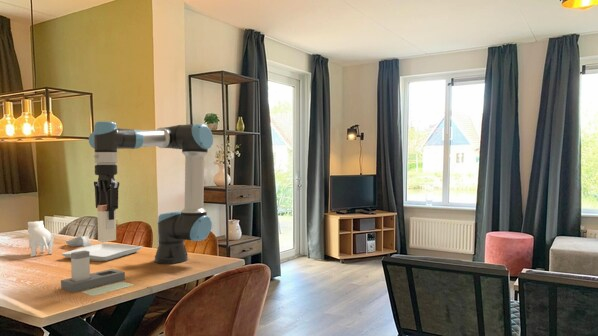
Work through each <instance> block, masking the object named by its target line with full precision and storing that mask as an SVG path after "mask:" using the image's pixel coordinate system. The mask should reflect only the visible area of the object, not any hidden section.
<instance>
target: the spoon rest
mask: <svg viewBox="0 0 598 336" xmlns="http://www.w3.org/2000/svg"><path fill="white" fill-rule="evenodd" d="M65 242H66V244H67V245H68V246H70V247H72V248H76V247H77V248H80V247H82V248H83V247H88V246H92V245H93V244H92V243H91V240H90V238H89V236H88V235H83V236H77V237H74V238H71V239H66V240H65Z"/></svg>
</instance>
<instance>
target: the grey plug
mask: <svg viewBox="0 0 598 336" xmlns="http://www.w3.org/2000/svg"><path fill="white" fill-rule="evenodd" d="M90 261H91V260H89V251H85V250H84V251H79V252H73V253H71V258H70V262H71V263H70V266H71V267H70V268H71V270H70V272H71V276H70V278H72V281H74V282H78V281H82V280H86V279H90V274H91V273H90V270H91V269H90Z"/></svg>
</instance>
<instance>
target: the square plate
mask: <svg viewBox="0 0 598 336" xmlns="http://www.w3.org/2000/svg"><path fill="white" fill-rule="evenodd" d="M142 248H143V246H142V245H130V244H123V243H122V244H120V243H98V244H94V245H93V244H92V246H88V247H83V246H82V247H78V248H76V249H73V250H69V251H66V252H65V251H64V252H62V253H60V255H62V256H63V257H65V258H67V259H71V253H73V252H79V251H84V250H85V251H89V261H91V262H92V261H93V262H108V261H112V260H114V259H117V258H118V259H119V258H121V257H125V256H127V255H131V254H133V253H134V254H135V253H136V252H139V251H140V250H141V249H142Z"/></svg>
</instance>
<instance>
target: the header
mask: <svg viewBox="0 0 598 336" xmlns="http://www.w3.org/2000/svg"><path fill="white" fill-rule="evenodd" d="M125 280H126V272H125V271H122V270H118V269H115V268H110V269H106V270H105V269H104V270H101V271H96V272H92V273H90V279H86V280H82V281H78V282H74V281H72V277H70V278H64V279H61V280H60V288H61V290H65V291H67V292H70V293H73V294H74V293H77V292H83V291H87V290H91V289H95V288H99V287H102V286H106V285H110V284H114V283H118V282H123V281H125Z"/></svg>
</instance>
